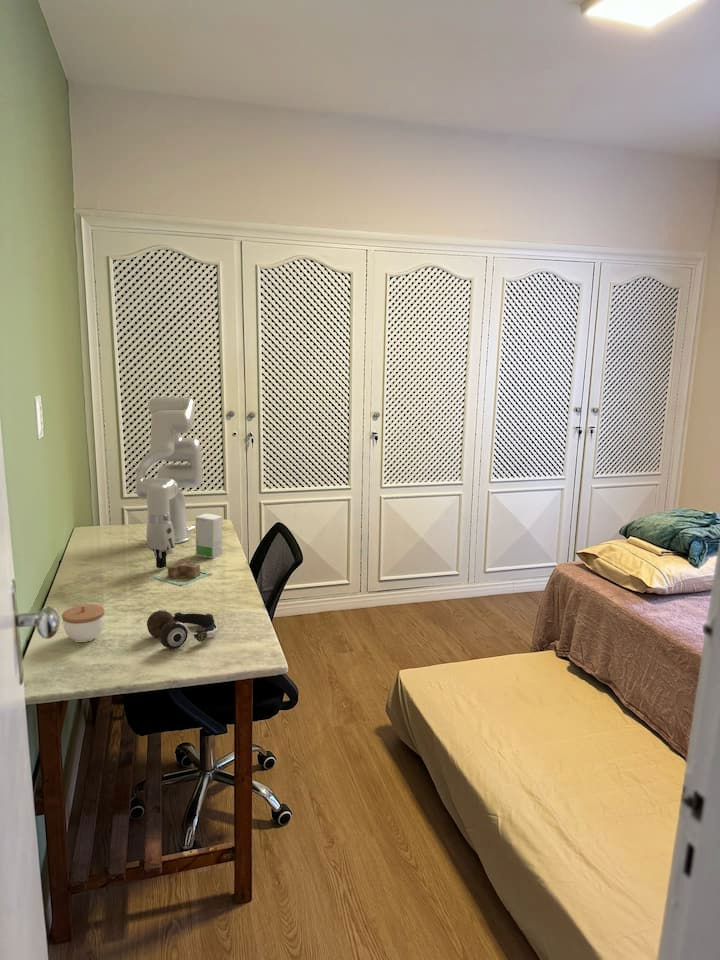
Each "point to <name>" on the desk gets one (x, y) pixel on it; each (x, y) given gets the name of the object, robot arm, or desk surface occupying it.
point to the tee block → (183, 569)
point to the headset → (179, 627)
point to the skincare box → (208, 535)
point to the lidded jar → (83, 622)
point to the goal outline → (183, 583)
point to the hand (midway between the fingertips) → (161, 567)
